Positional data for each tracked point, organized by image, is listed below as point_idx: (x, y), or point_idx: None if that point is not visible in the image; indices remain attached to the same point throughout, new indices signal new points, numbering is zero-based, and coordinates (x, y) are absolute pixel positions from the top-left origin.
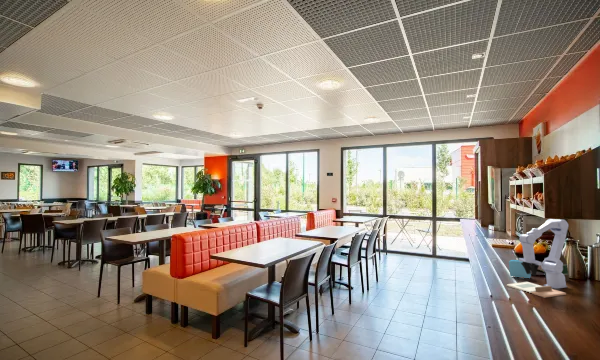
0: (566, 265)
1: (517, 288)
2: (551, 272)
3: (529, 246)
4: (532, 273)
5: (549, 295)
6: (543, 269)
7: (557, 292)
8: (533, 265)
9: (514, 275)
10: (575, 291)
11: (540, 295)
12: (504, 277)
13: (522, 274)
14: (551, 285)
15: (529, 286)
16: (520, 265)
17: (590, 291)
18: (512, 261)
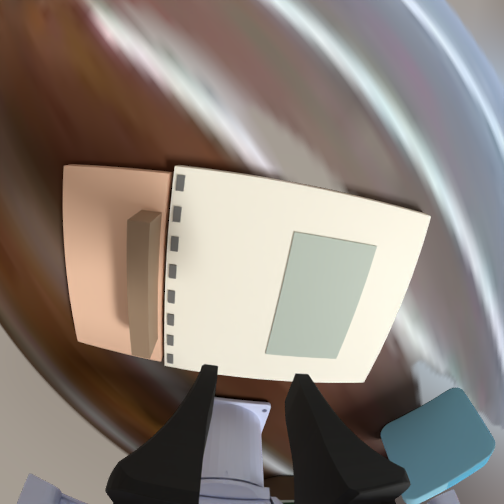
0: None
1: (324, 189)
2: (202, 487)
3: None
4: (202, 379)
5: (63, 213)
6: (275, 500)
7: (92, 315)
8: (109, 484)
9: (446, 401)
10: (121, 408)
11: (95, 166)
12: (477, 357)
13: (415, 428)
14: (216, 410)
15: (289, 306)
16: (438, 465)
17: (109, 433)
18: (480, 459)
